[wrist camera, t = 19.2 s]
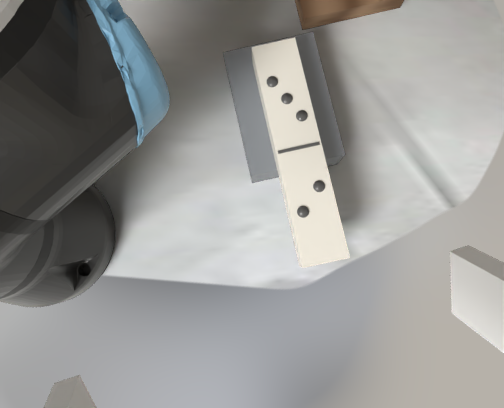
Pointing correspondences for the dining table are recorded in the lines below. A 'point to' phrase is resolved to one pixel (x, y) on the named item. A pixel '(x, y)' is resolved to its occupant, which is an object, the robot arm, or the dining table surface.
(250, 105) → the charcoal platform
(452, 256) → the robot arm
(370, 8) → the walnut pedestal
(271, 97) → the domino bar
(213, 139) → the dining table surface
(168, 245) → the dining table surface
